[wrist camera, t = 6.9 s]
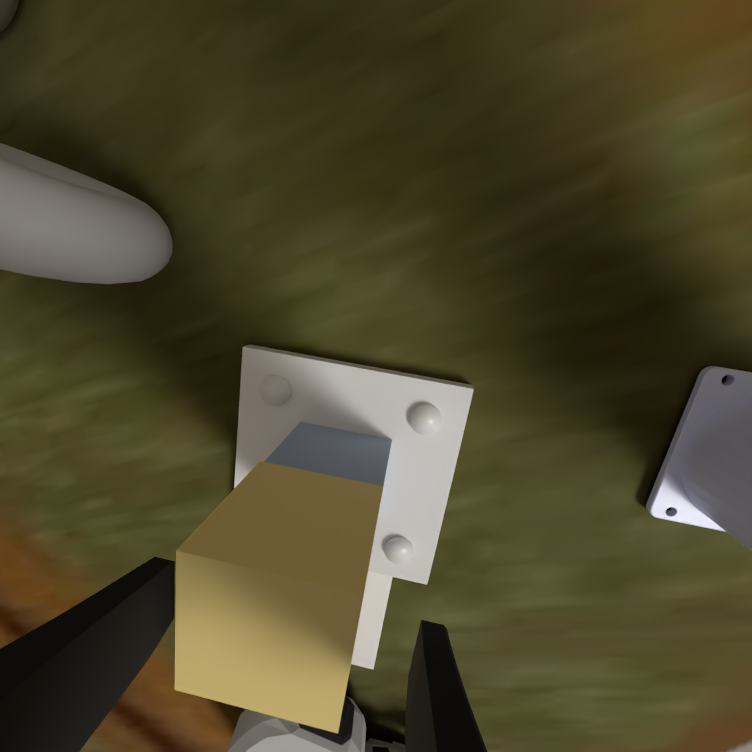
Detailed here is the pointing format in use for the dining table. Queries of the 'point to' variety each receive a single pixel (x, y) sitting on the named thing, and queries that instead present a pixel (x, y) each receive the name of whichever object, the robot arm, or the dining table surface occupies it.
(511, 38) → the dining table surface
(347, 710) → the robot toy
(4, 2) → the plastic bottle
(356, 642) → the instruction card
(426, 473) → the plate
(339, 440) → the slate block
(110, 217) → the donut
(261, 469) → the mustard block
